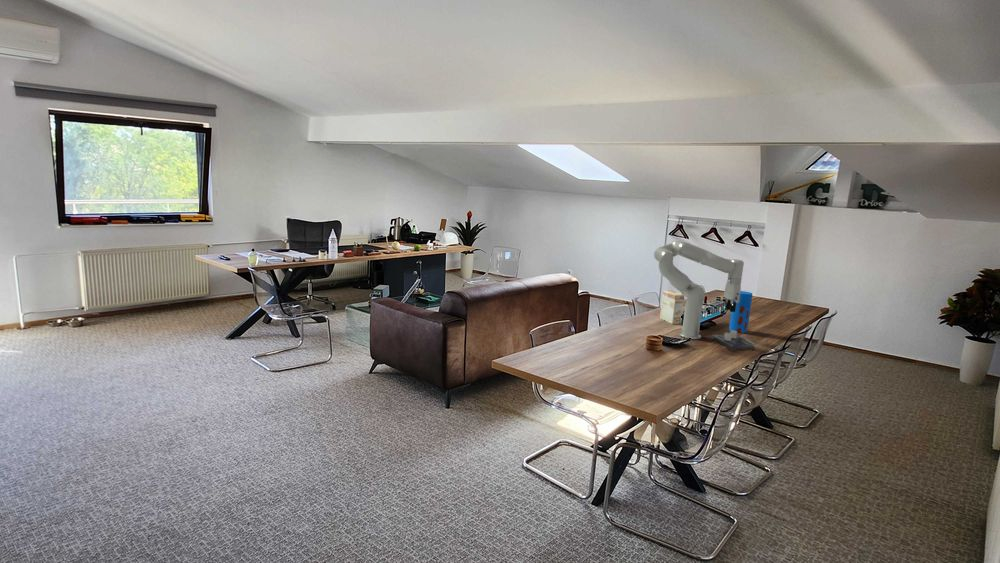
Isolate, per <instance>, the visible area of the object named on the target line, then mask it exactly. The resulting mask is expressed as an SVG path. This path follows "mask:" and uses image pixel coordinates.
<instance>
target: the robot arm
mask: <svg viewBox="0 0 1000 563" xmlns="http://www.w3.org/2000/svg"><path fill="white" fill-rule="evenodd" d="M653 253H654V254H653V255H654V256H653V257H654V259H655V260H656V261H657V262H658V269H659V273H660V274H661V275H662V276H663V277H665V279H666V280H668V282H669V284H670V285H671V286H672V287H673V288H674V289H676V290H677V291H679V292H680V294H683V295H684V297H686V302H685V305H684V313H683V321H682V326H681V331H680V332H679V333H678V336H680V337H681V336H682V338H684V337H685V338H684V339H689V338H691V339H690V340H700V339H701V338H702V335H701V334H699V333H700V326H701V319H702V318H701V317H702V310H703V304H704V301H705V299H706V298H705V297H706V291H705V289H704V287H702V286H701V285H699V284H698V283H696V282H694V281H693V280H691V279H690V278H689V276H688V275H686V274H685V273H684V272H682V271H681V270H679V268H678V267H676V266H675V265H674V257H676V256H680V257H683V258H685V259H687V260H690V261H693V262H695V263H697V264H699V265H703V266H707V267H709V268H711V269H715V270H718V271H719V272H723V273H725V274H727V281H726V283H725V286H724V293H723V297H724V299H725V310H726V311H729V312H730V313H731V312H735V310H736V305H737V303H739V299H740V291H742V290H741V284H742V280H743V279H742V278H743V271H744V261H743V260H741V259H730V258H724V257H722V256H719V255H717V254H715V253H712V252H711V251H709V250H706V249H704V248H701V247H699V246H696V245H694V244H692V243H689V242H686V241H684V240H676V241H674V242H673V241H672V242H670V243H668V244H664V245H663V246H662V245H661V246H660V247H657V248H656V250H655V251H654V252H653ZM734 299H735V300H734ZM733 301H735V302H734V303H733Z"/></svg>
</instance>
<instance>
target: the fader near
mask: <svg viewBox="0 0 1000 563" xmlns="http://www.w3.org/2000/svg"><path fill="white" fill-rule="evenodd" d="M724 335H725V336H724V339H725V340H726V341H731V335H732V334H731V333H730V332H724Z"/></svg>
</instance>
